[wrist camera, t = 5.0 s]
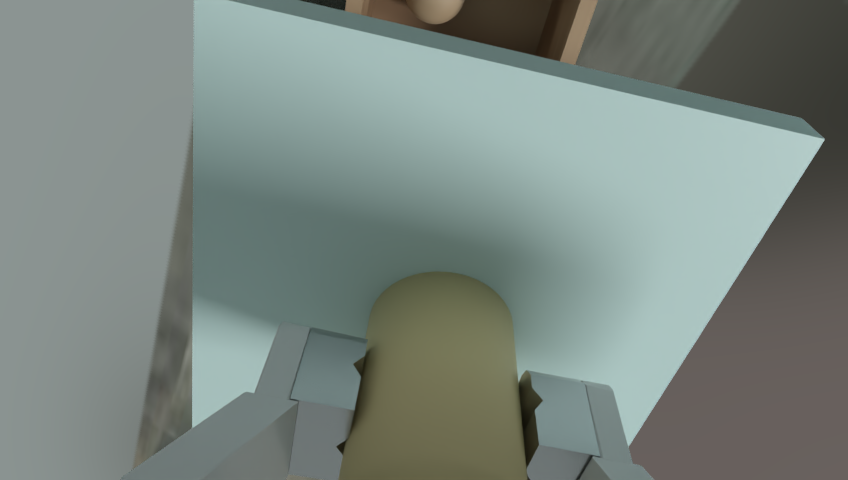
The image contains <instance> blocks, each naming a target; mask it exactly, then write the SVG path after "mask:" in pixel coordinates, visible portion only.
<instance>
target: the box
mask: <svg viewBox="0 0 848 480" xmlns="http://www.w3.org/2000/svg"><path fill="white" fill-rule="evenodd" d="M597 1H598V0H464V3H463V6H462V8H461V9H460V11H459V12H458V14H457V15H456V16H455V17H453V18H452V19H451V20H449V21H447V22H444V23H441V24H429V23H426V22H423V21H421V20H420V19H418V18H417V17H416V16H415V15H414V14H413V13H412V12H411V10H410V9H409V7H408V4H407V2H406V0H346V7H345V11H347V12H351V13H356V14H360V15H364V16H368V17H373V18H377V19H381V20H385V21H390V22H394V23H398V24H402V25H407V26H411V27H415V28H419V29H424V30H428V31H432V32H436V33H441V34H445V35H449V36H454V37H458V38H462V39H466V40H471V41H475V42H479V43H483V44H488V45H492V46H496V47H500V48H505V49H509V50H513V51H517V52H522V53H526V54H530V55H534V56H539V57H543V58H547V59H551V60H556V61H560V62H564V63H569V64H573V65H575V63H576V60H577V57H578V55H579V52H580V49H581V46H582V43H583V41H584V38H585V35H586V32H587V29H588V27H589V24H590V21H591V18H592V15H593V13H594V10H595V7H596V4H597Z"/></svg>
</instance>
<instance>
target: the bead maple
mask: <svg viewBox="0 0 848 480" xmlns="http://www.w3.org/2000/svg"><path fill="white" fill-rule="evenodd" d="M406 2H407V4H408V7H409V9H410V10H411V12H412V13H413V14H414V15H415V16H416V17H417V18H418V19H420V20H421V21H423V22H426V23H429V24H441V23H444V22H447V21H449V20H451V19H452V18H453V17H455V16H456V15H457V14H458V12H459V11H460V9H461V8H462V6H463V3H464V0H406Z"/></svg>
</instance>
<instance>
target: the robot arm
mask: <svg viewBox="0 0 848 480" xmlns="http://www.w3.org/2000/svg"><path fill="white" fill-rule="evenodd" d="M367 342H368V339H364V338H359V337H355V336H350V335H346V334H341V333H337V332H332V331H328V330H323V329H319V328H314V327H312V328H310V327H306V326H302V325H297V324H293V323H289V322H284V321H282V323H281V324H280V326H279V327H278V329H277V332H276V335H275V337H274V340H273V343H272V346H271V348H270V351H269V354H268V357H267V359H266V362H265V365H264V367H263V370H262V373H261V376H260V378H259V381H258V384H257V387H256V389H255V392H254V393H250V392H244V393H243V394H241V395H240V396H238V397H237V398H235V399H234V400H232V401H231V402H230V403H228V404H227V405H225V406H224V407H222V408H221V409H219V410H218V411H217V412H215V413H214V414H212V415H211V416H209V417H208V418H206V419H205V420H204V421H202V422H201V423H199V424H198V425H196V426H195V427H193V428H192V429H191V430H189V431H188V432H186V433H185V434H183V435H182V436H180V437H179V438H178V439H176V440H175V441H173V442H172V443H170V444H169V445H168V446H166V447H165V448H163V449H162V450H160V451H159V452H157V453H156V454H155V455H153V456H152V457H150V458H149V459H147V460H146V461H144V462H143V463H142V464H140V465H139V466H137V467H136V468H134V469H133V470H131V471H130V472H129V473H127V474H126V475H124V476H123V477H122V478H121V480H285V479H286V478H287V476H288V474H291V475H297V476H304V477H311V478H317V479H324V480H338V479H339V473H340V468H341V463H342V458H343V452H344V447H345V442H346V440H347V439H348V438H349V434H350V429H351V424H352V419H353V415H354V410H355V405H356V400H357V395H358V390H359V385H360V380H361V372H362V367H363V363H364V358H365V353H366V347H367ZM518 384H519V394H520V405H521V416H522V426H523V437H524V448H525V458H526V469H527V479H528V480H653V478H652V477H651V476H650V475H649V474H648V473H647V472H646V470H644V468H643V467H642V466H641V465H636V464H633V463H632V459H631V455H630V452H629V448H628V444H627V440H626V437H625V433H624V429H623V425H622V422H621V418H620V414H619V410H618V407H617V403H616V399H615V395H614V392H613V389H612V388H611V387H610V386H609V385H605V384H600V383H594V382H589V381H583V380H581V381H580V380H577V379H572V378H567V377H561V376H556V375H550V374H545V373H540V372H534V371H529V370H526V371H525V372H524V373H523V374H522V376H521V378H520V380H519V383H518Z"/></svg>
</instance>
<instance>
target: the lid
mask: <svg viewBox="0 0 848 480" xmlns="http://www.w3.org/2000/svg"><path fill="white" fill-rule="evenodd" d="M824 140H825V139H824V138H823V137H822V136H821V135H820V134H819V133H817V132H816V131H815V130H814V129H813V128H812V127H811V126H810V125H809V124H807V123H806V122H805V121H804V120H803V119H802V118H798V117H794V116H790V115H786V114H781V113H777V112H773V111H769V110H764V109H760V108H755V107H751V106H747V105H743V104H739V103H735V102H730V101H726V100H722V99H717V98H713V97H709V96H705V95H701V94H696V93H692V92H688V91H683V90H679V89H675V88H671V87H666V86H662V85H658V84H654V83H649V82H645V81H641V80H637V79H632V78H628V77H624V76H620V75H615V74H611V73H607V72H603V71H598V70H594V69H590V68H586V67H581V66H577V65H573V64H569V63H564V62H560V61H556V60H551V59H547V58H543V57H539V56H534V55H530V54H526V53H522V52H517V51H513V50H509V49H505V48H500V47H496V46H492V45H488V44H483V43H479V42H475V41H471V40H466V39H462V38H458V37H454V36H449V35H445V34H441V33H436V32H432V31H428V30H424V29H419V28H415V27H411V26H407V25H402V24H398V23H394V22H390V21H385V20H381V19H377V18H373V17H368V16H364V15H360V14H356V13H351V12H347V11H343V10H339V9H334V8H330V7H326V6H321V5H317V4H313V3H309V2H304V1H300V0H194V97H193V361H192V428H193V427H195V426H196V425H198V424H199V423H201V422H202V421H204V420H205V419H206V418H208V417H209V416H211V415H212V414H214V413H215V412H217V411H218V410H219V409H221V408H222V407H224V406H225V405H227V404H228V403H230V402H231V401H232V400H234V399H235V398H237V397H238V396H240V395H241V394H243V393H244V392H250V393H254V392H255V389H256V387H257V384H258V381H259V378H260V376H261V373H262V370H263V367H264V365H265V362H266V359H267V357H268V354H269V351H270V348H271V346H272V343H273V340H274V337H275V335H276V332H277V329H278V327H279V326H280V324H281V323H282V321H284V322H289V323H293V324H297V325H302V326H306V327H310V328H312V327H314V328H319V329H323V330H328V331H332V332H337V333H341V334H346V335H350V336H355V337H359V338H364V339H368V342H367V347H366V353H365V358H364V363H363V367H362V372H361V380H360V385H359V390H358V395H357V400H356V405H355V410H354V415H353V419H352V424H351V429H350V434H349V438H348V439H347V440H346V442H345V447H344V452H343V458H342V463H341V468H340V473H339V479H338V480H528V479H527V469H526V458H525V448H524V437H523V426H522V416H521V405H520V394H519V384H518V383H519V380H520V378H521V376H522V374H523V373H524V372H525V371H526V370H529V371H534V372H540V373H545V374H550V375H556V376H561V377H567V378H572V379H577V380H580V381H581V380H583V381H589V382H594V383H600V384H605V385H609V386H610V387H611V388H612V389H613V392H614V395H615V399H616V403H617V407H618V410H619V414H620V418H621V422H622V425H623V429H624V433H625V437H626V440H627V444H628V447H629V445H630V444H631V442H632V440H633V439H634V437H635V436H636V434H637V432H638V431H639V429H640V427H641V426H642V425H643V423H644V421H645V420H646V419H647V417H648V415H649V414H650V412H651V411H652V409H653V407H654V406H655V404H656V403H657V401H658V400H659V398H660V397H661V395H662V393H663V392H664V390H665V389H666V387H667V386H668V384H669V382H670V381H671V379H672V378H673V376H674V375H675V373H676V371H677V370H678V368H679V367H680V365H681V364H682V362H683V361H684V359H685V357H686V356H687V354H688V353H689V351H690V350H691V348H692V346H693V345H694V343H695V342H696V340H697V339H698V337H699V336H700V334H701V332H702V330H703V329H704V327H705V326H706V324H707V323H708V321H709V320H710V318H711V317H712V315H713V314H714V312H715V310H716V309H717V307H718V306H719V304H720V303H721V301H722V300H723V298H724V296H725V295H726V293H727V292H728V290H729V289H730V287H731V285H732V284H733V282H734V281H735V279H736V278H737V276H738V274H739V273H740V271H741V270H742V268H743V267H744V265H745V263H746V262H747V260H748V259H749V257H750V256H751V254H752V252H753V251H754V249H755V247H756V246H757V245H758V243H759V242H760V240H761V238H762V237H763V235H764V233H765V232H766V231H767V229H768V227H769V226H770V224H771V222H772V221H773V220H774V218H775V217H776V215H777V213H778V212H779V210H780V209H781V207H782V206H783V204H784V202H785V201H786V199H787V198H788V196H789V195H790V193H791V191H792V190H793V188H794V187H795V185H796V184H797V182H798V181H799V179H800V177H801V176H802V174H803V173H804V171H805V170H806V168H807V166H808V165H809V163H810V162H811V160H812V159H813V157H814V155H815V154H816V152H817V151H818V149H819V148H820V146H821V144H822V143H823V141H824Z"/></svg>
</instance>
